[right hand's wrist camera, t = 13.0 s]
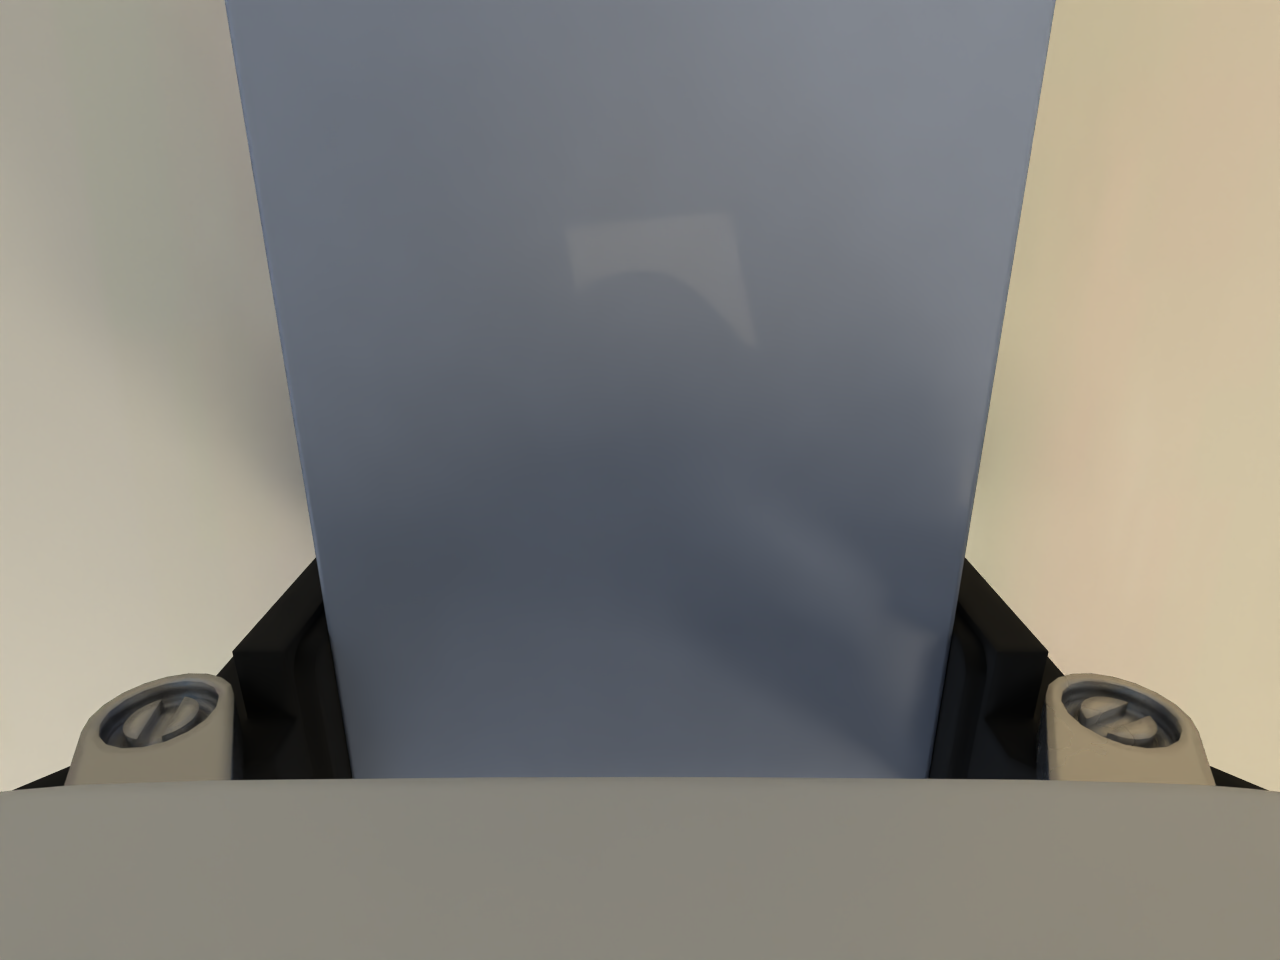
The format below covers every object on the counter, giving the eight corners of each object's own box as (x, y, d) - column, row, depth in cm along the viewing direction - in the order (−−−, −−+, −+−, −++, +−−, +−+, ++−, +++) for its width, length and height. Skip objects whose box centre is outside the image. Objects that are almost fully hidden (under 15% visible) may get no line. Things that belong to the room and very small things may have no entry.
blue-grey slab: (439, -153, 12) (91, -778, 4) (840, -153, 12) (1189, -781, 4) (502, 675, 18) (392, 1040, 10) (779, 675, 18) (887, 1040, 10)
